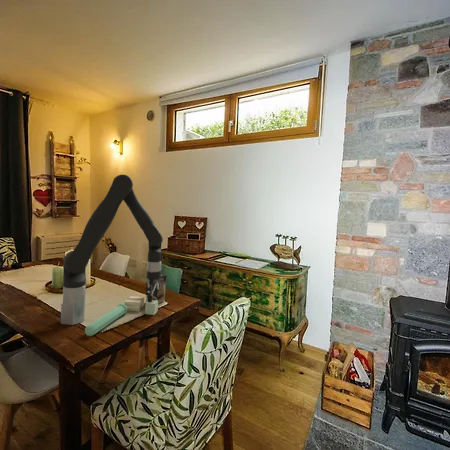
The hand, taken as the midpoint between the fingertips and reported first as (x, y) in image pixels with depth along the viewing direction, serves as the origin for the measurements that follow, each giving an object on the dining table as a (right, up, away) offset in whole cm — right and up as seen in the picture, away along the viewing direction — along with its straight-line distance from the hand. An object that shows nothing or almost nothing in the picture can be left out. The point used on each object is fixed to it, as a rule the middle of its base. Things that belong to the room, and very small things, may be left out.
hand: (152, 299), depth 142 cm
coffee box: (-2, -6, +15) cm, 16 cm away
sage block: (-1, -7, 0) cm, 7 cm away
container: (-17, -8, -16) cm, 25 cm away
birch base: (-11, -6, +4) cm, 14 cm away
